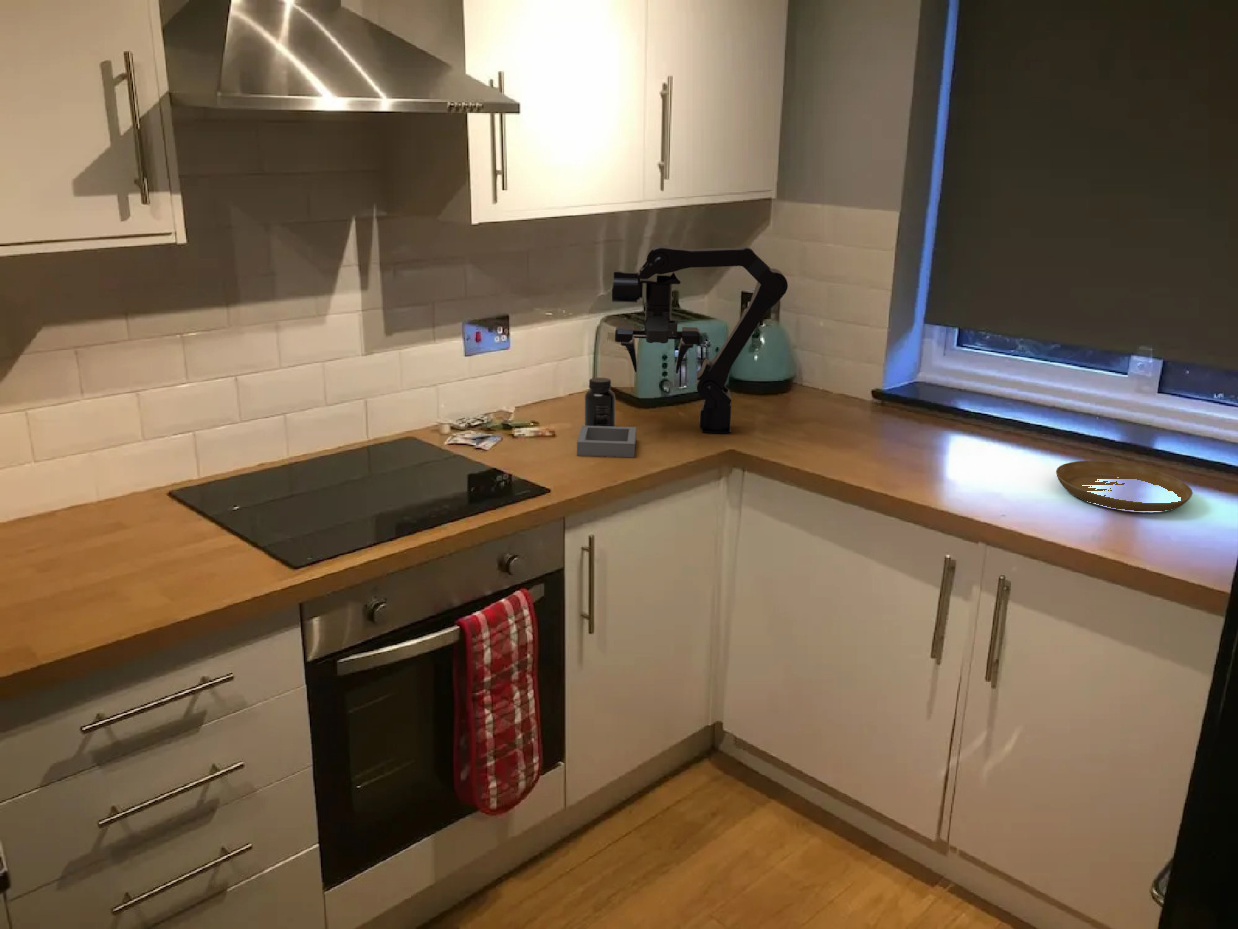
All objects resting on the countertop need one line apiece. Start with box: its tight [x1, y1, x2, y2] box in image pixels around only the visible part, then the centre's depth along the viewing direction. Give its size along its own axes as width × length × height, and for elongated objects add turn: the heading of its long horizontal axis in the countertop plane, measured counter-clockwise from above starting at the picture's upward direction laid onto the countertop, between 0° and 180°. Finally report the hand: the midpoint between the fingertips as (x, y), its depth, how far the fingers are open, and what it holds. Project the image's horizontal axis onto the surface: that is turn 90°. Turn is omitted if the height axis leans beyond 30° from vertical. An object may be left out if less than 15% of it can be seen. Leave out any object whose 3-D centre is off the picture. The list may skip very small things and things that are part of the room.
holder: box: [576, 425, 637, 458], centre depth 225 cm, size 12×12×3 cm
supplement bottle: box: [584, 377, 616, 427], centre depth 235 cm, size 7×7×12 cm
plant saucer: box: [1055, 460, 1194, 511], centre depth 203 cm, size 24×24×3 cm
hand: (656, 372), depth 236 cm, fingers open, 9 cm apart
